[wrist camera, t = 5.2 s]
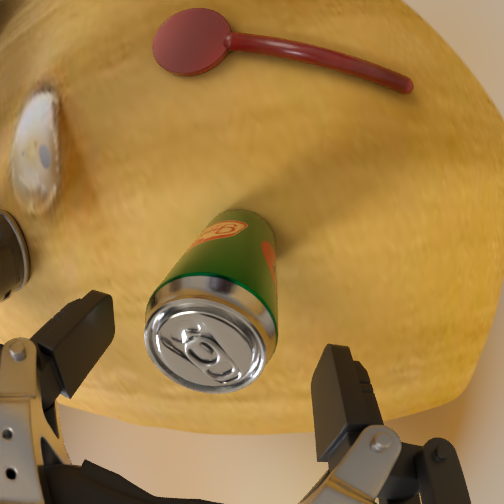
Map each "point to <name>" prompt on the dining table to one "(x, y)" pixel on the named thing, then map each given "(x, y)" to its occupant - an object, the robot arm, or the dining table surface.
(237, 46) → the spoon
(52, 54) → the dining table surface
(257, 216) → the soda can
